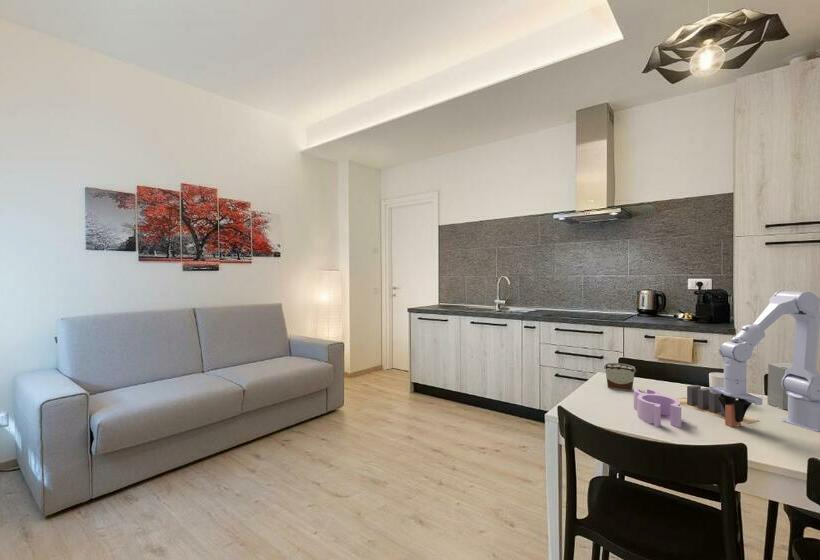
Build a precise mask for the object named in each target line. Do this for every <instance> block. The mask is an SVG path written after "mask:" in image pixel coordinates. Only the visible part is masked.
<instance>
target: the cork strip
mask: <svg viewBox="0 0 820 560" xmlns="http://www.w3.org/2000/svg"><path fill="white" fill-rule="evenodd" d="M676 399H677V400H678V401H680V406H683V407H687V408H690V409H693V410H695V411H697V412H701V413H705V414H707V415H711V416H713V417H717V418H720V419H723V420H725V417H724V416H721V412H720V413H711V412H709V409H704V410H702V409H699V408H698V405H695V406H690V405H687V397H678V398H676ZM758 422H760V420H758V419H755V418H751V417H748V416H745V415H744V418H743V421H742V422H741V425H740V426H744V425H749V424H754V423H758Z"/></svg>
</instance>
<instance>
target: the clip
mask: <svg viewBox="0 0 820 560" xmlns="http://www.w3.org/2000/svg"><path fill="white" fill-rule="evenodd" d="M677 399H678V398H675V397H671V396H668V395H665V394H664V395H663V394H662V393H661V392H660V391H659V390H657V389H652V388H646V392H641V389H640V388H638V387H637V388H633V410H635V411H637V415H636V416H637V418H638V419H639V420H640V421H642V420H643V422H645V423H647V422H649V423H648V424H651V423H653V424H652V425H654V427H655V426H657V427H656V428H660V427H661V426H660V425H662V424H661V423H662V422H661V420H662V419H661V416H663V415H664V416H665V417H669V419H670V422H669V424H670V426H672V427H675V428H678V429H681V428H682V405H680V401H678V400H677ZM659 426H660V427H659Z"/></svg>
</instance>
